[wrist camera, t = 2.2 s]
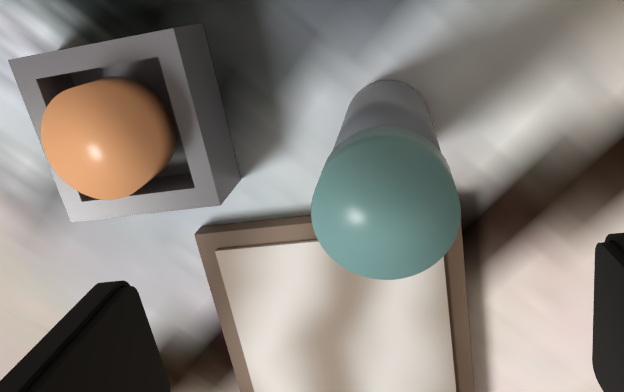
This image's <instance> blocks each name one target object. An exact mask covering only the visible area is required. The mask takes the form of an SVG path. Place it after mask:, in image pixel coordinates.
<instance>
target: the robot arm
mask: <svg viewBox="0 0 624 392" xmlns="http://www.w3.org/2000/svg"><path fill="white" fill-rule="evenodd" d="M592 361H593V369H594V373H595V376H596V378H597V380H598V383H599V384H600V386H601V388H602V390H603V391H604V392H624V233H617V234H609V235H608V236H607V237H606V240H605V242H604V243H598V244H597V245H596V248H595V276H594V316H593V355H592ZM0 392H170V383H169V380H168V377H167V374H166V371H165V368H164V365H163V363H162V360H161V357H160V354H159V351H158V348H157V345H156V342H155V340H154V337H153V334H152V331H151V328H150V325H149V322H148V319H147V317H146V314H145V311H144V308H143V305H142V302H141V299H140V296H139V293H138V291H137V289H136V288H135V287H133V286H130V285H129V284H128V283H127V282H126V281H115V282H104V283H98V284H97V285H95V286H94V287H93V288H92V289H91V290H90V291H89V292H88V293H87V294H86V295H85V296H84V297H83V298H82V299H81V300H80V301H79V302H78V303H77V304H76V305H75V306H74V307H73V308H72V309H71V310H70V311H69V312H68V313H67V314H66V315H65V316H64V317H63V318H62V319H61V320H60V321H59V322H58V323H57V324H56V325H55V326H54V327H53V328H52V329H51V330H50V331H49V332H48V333H47V334H46V335H45V336H44V337H43V338H42V339H41V341H40V342H39V343H38V344H37V345H36V346H35V347H34V348H33V349H32V350H31V351H30V352H29V353H28V354H27V355H26V356H25V357H24V358H23V359H22V360H21V361H20V362H19V363H18V364H17V365H16V366H15V367H14V368H13V369H12V370H11V371H10V372H9V373H8V374H7V375H6V376H5V377H4V378H3V379H2V380H1V381H0Z"/></svg>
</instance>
